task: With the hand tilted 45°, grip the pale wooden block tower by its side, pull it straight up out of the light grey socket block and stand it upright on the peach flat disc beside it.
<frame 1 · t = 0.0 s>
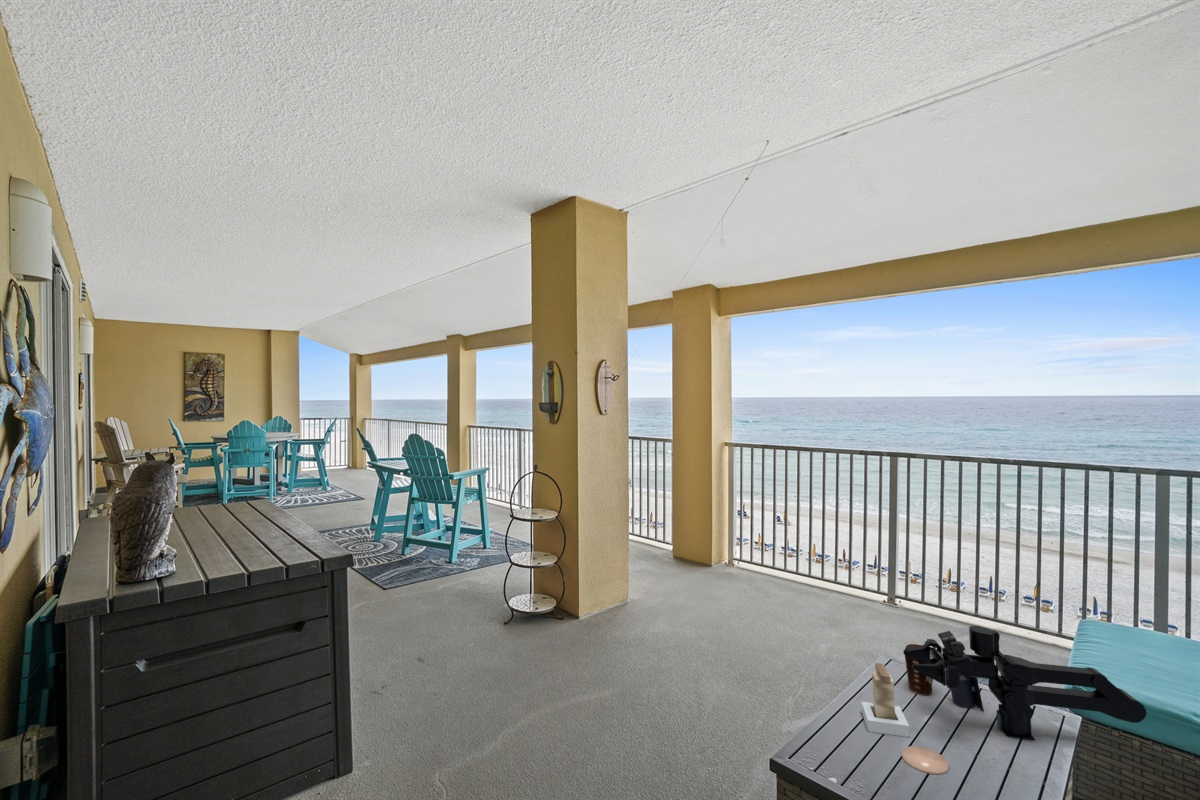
hand: (908, 659, 151), 17 cm above the table, tool horizontal, fingers open, 9 cm apart
speaker: (964, 705, 157), on the table
peach flat disc: (924, 761, 132), on the table
coffee cup: (920, 691, 166), on the table
wooden block tower: (883, 696, 148), in the socket
socket: (884, 724, 148), on the table
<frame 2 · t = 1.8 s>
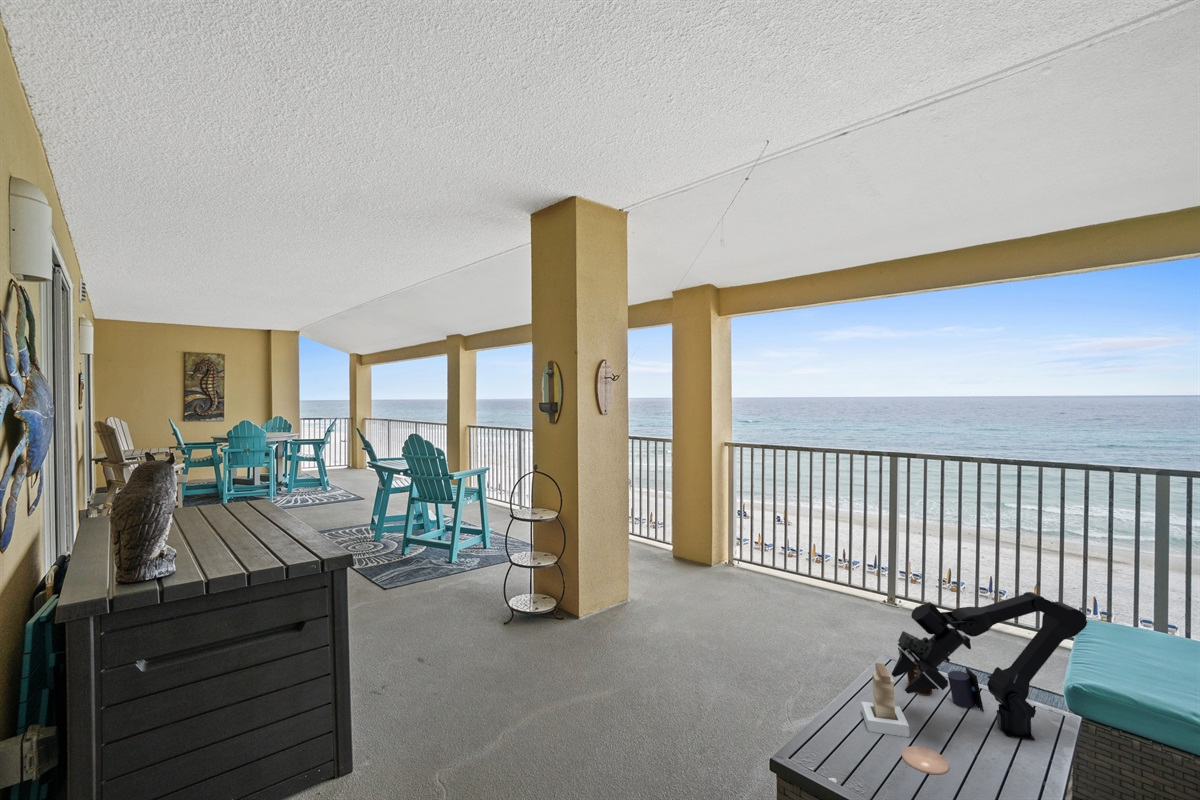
hand: (899, 683, 148), 11 cm above the table, tool tilted 45°, fingers open, 9 cm apart
nothing on the table moved.
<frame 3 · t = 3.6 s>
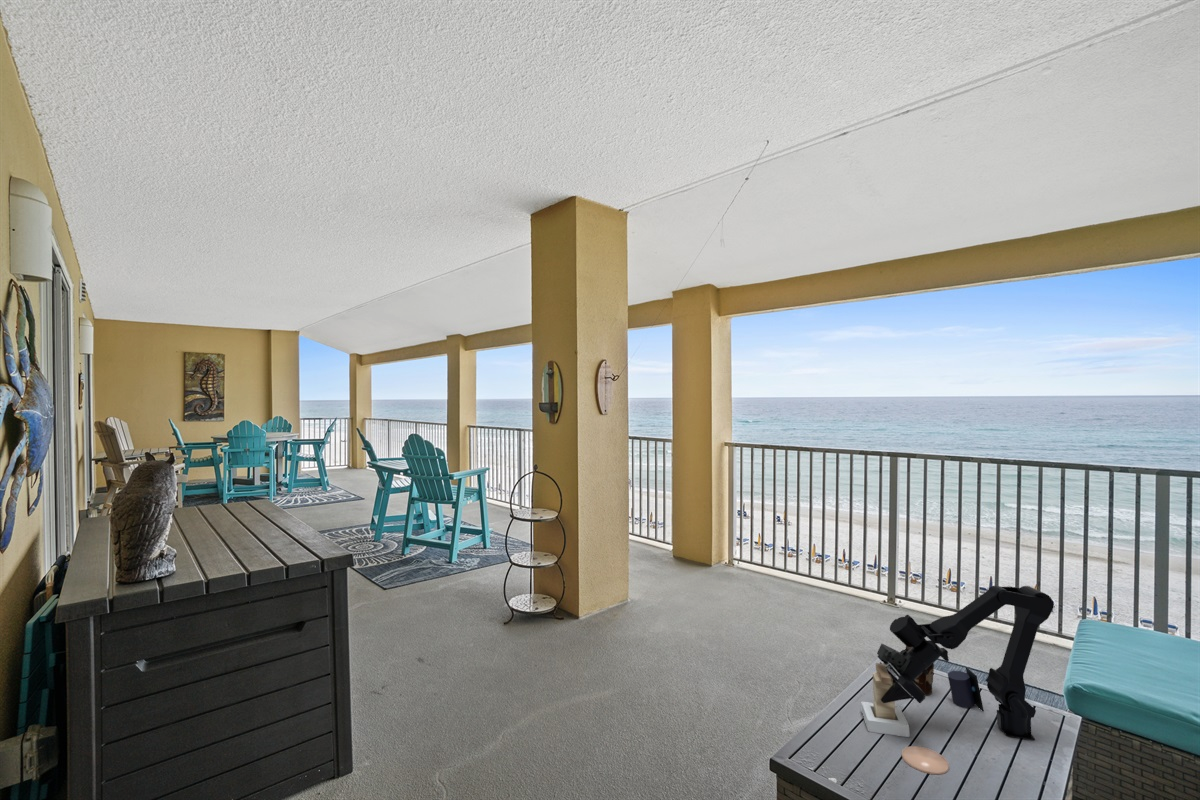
hand: (878, 696, 149), 8 cm above the table, tool tilted 45°, fingers closed on wooden block tower, 5 cm apart
wooden block tower: (883, 697, 148), in the socket, touching gripper
everything else where it was.
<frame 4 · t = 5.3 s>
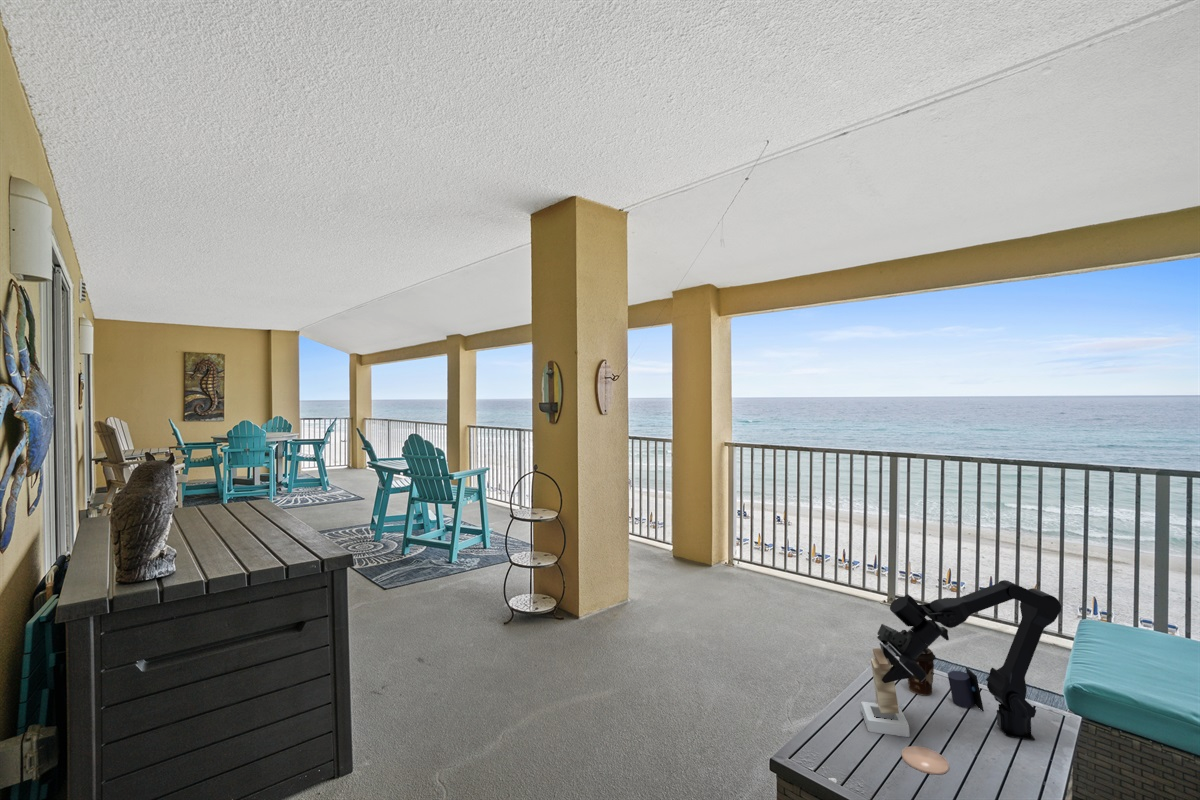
hand: (878, 676, 148), 13 cm above the table, tool tilted 45°, fingers closed on wooden block tower, 6 cm apart
wooden block tower: (884, 682, 147), point 12 cm above the table, tilted 9°, touching gripper
everything else where it was.
when the fingers open (10 cm above the table, at t = 7.4 s): wooden block tower stays where it is, resting on peach flat disc.
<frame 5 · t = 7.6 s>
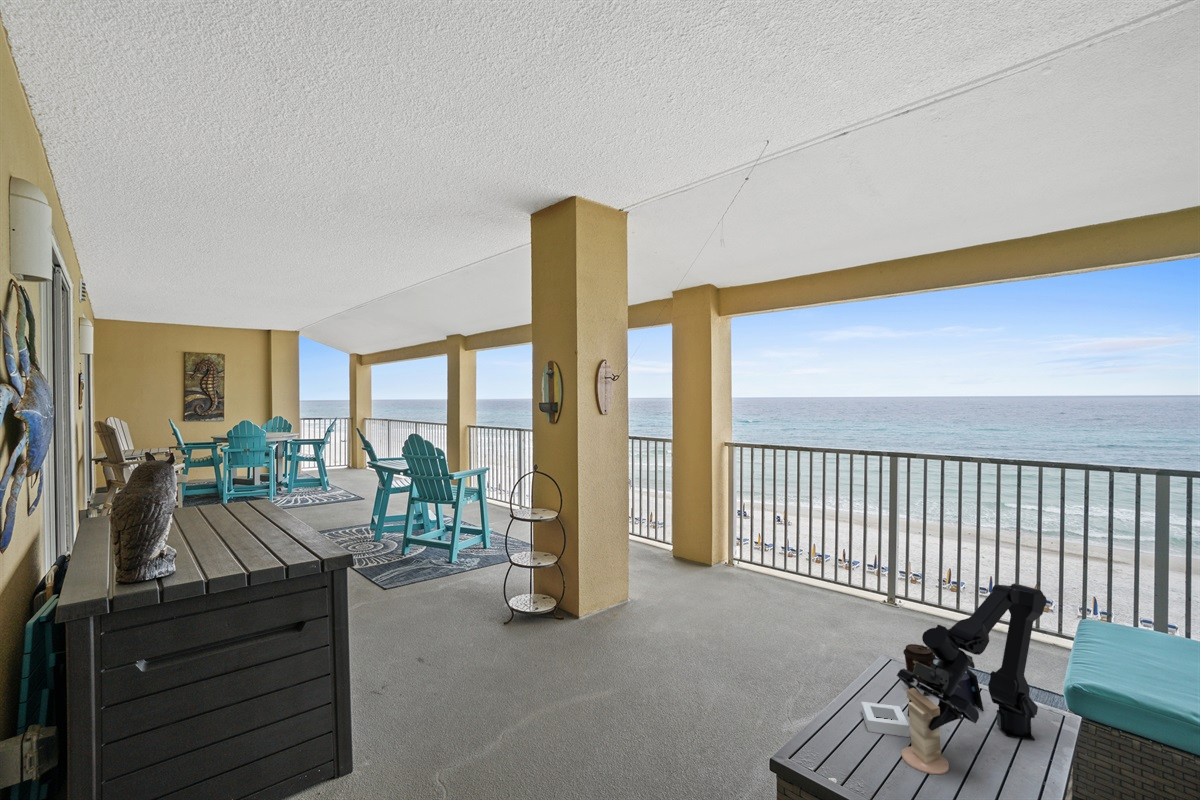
hand: (919, 723, 132), 10 cm above the table, tool tilted 45°, fingers open, 5 cm apart
wooden block tower: (924, 726, 132), on the peach flat disc, tilted 9°, touching gripper
everything else where it was.
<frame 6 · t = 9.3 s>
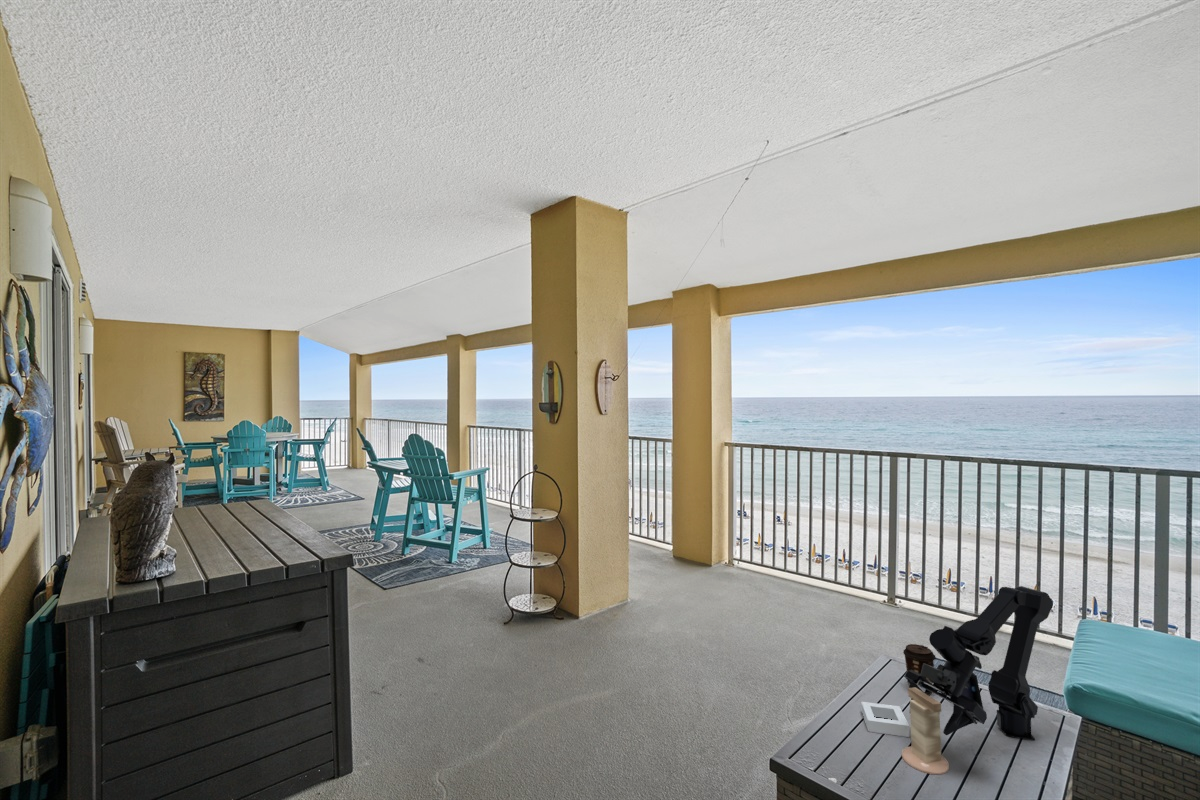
hand: (927, 724, 133), 9 cm above the table, tool tilted 45°, fingers open, 9 cm apart
wooden block tower: (925, 725, 133), on the peach flat disc, point 8 cm above the table
everything else where it was.
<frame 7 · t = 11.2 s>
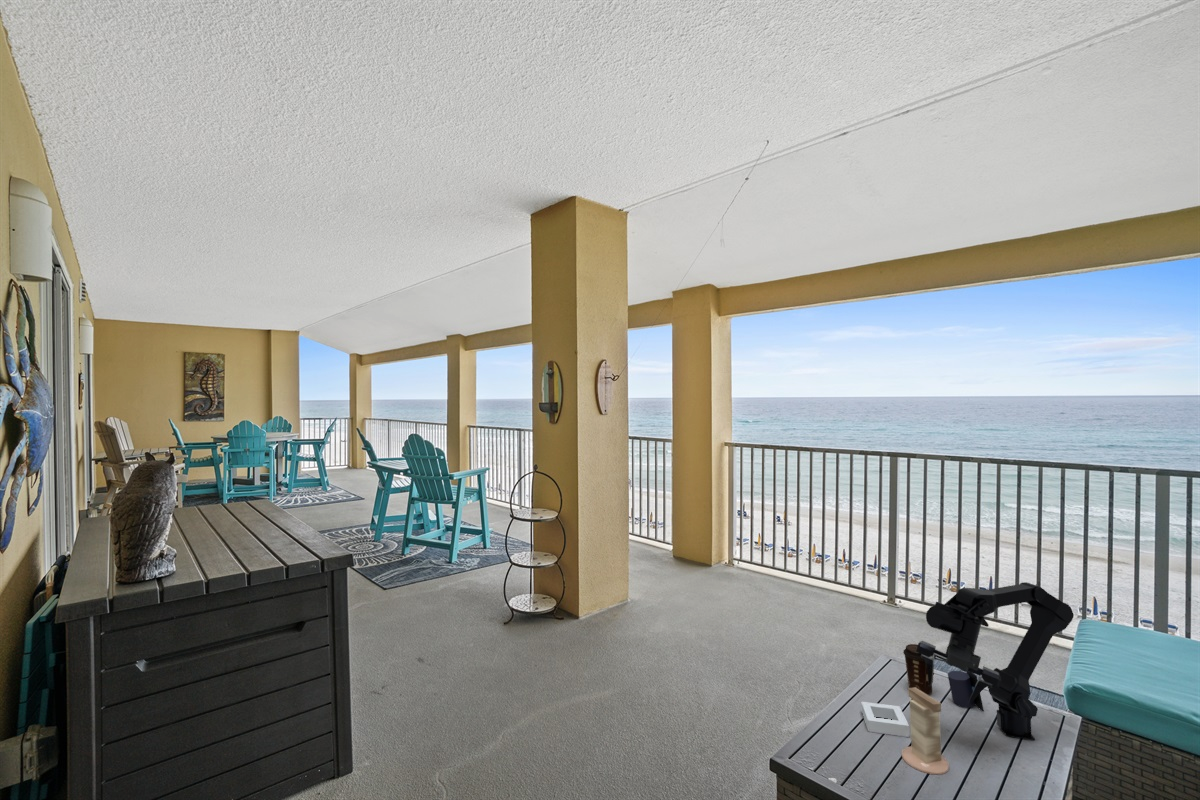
hand: (949, 694, 141), 12 cm above the table, tool tilted 20°, fingers open, 9 cm apart
nothing on the table moved.
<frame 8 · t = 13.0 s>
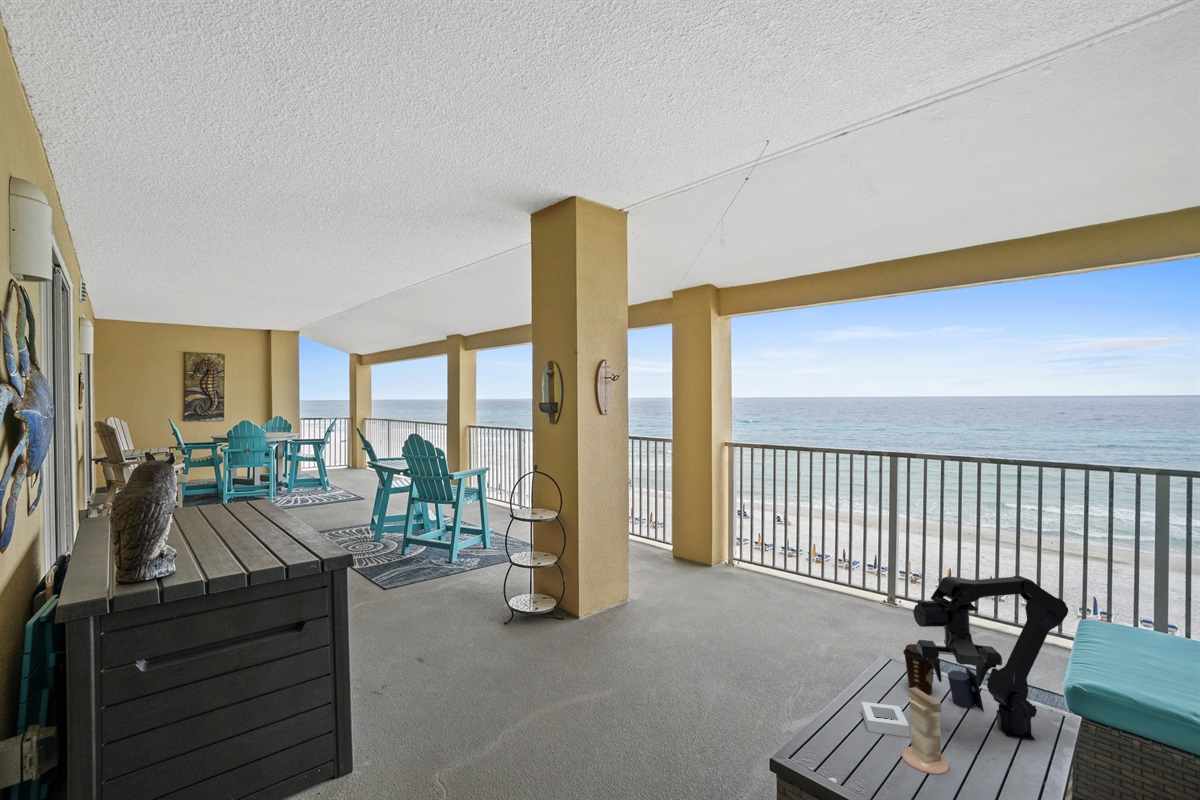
hand: (959, 683, 144), 13 cm above the table, tool pointing down, fingers open, 9 cm apart
nothing on the table moved.
at the end: wooden block tower 1.2 cm from the peach flat disc (horizontally); wooden block tower tilted 0°; the gripper is holding nothing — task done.
